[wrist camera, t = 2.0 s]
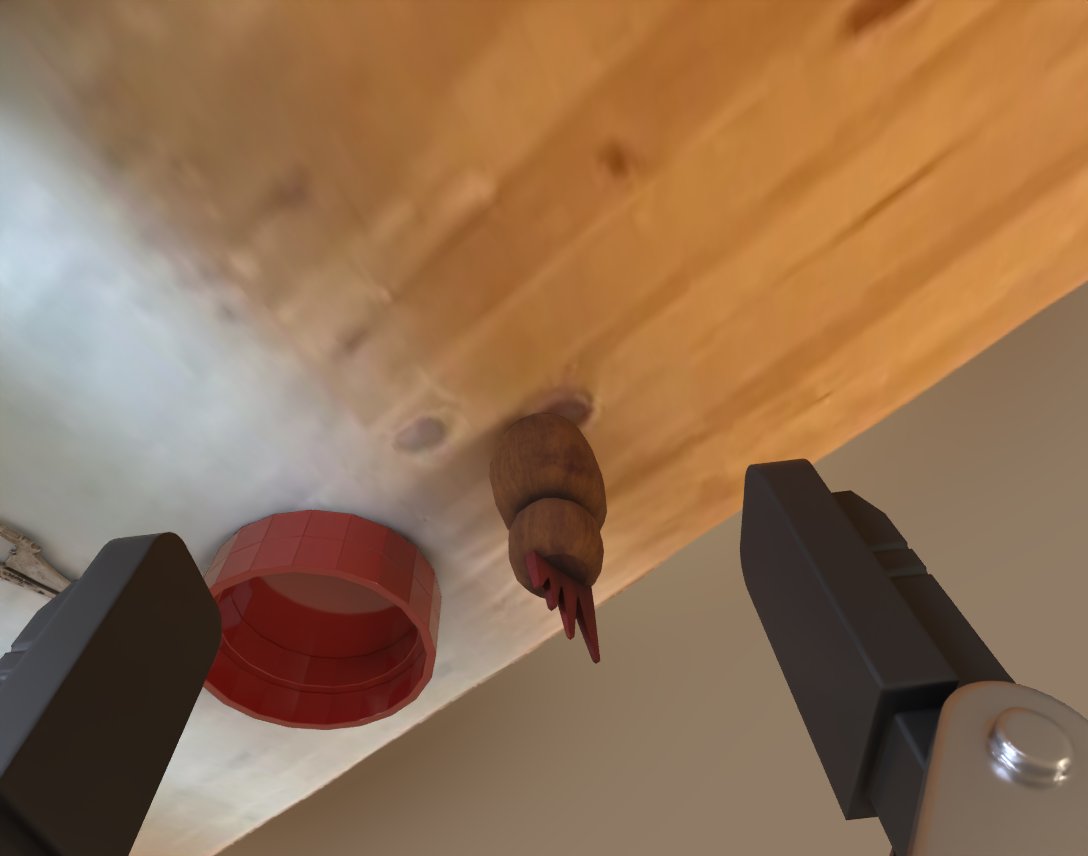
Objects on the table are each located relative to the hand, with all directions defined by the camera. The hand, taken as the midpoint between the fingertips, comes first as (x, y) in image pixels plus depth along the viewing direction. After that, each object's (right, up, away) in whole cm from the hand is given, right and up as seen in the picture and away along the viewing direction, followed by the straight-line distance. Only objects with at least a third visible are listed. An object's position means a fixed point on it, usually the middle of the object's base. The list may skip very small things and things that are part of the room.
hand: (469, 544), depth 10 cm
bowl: (-14, -10, +36) cm, 40 cm away
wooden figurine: (+1, +1, +31) cm, 31 cm away
